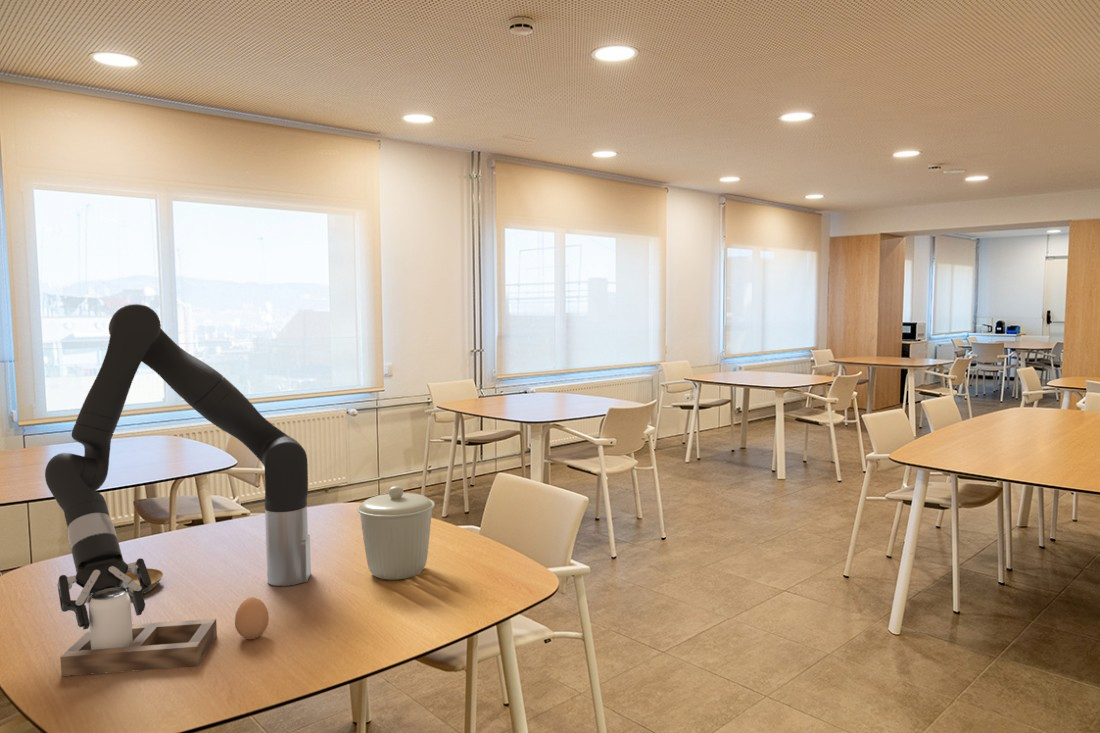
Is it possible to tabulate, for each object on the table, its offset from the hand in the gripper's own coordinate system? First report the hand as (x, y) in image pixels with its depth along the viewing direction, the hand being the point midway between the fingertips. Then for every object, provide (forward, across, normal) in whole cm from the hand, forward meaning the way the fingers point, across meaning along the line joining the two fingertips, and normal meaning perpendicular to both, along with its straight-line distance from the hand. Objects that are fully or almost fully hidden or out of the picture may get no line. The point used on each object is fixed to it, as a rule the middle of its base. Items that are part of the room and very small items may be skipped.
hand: (114, 620), depth 131 cm
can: (+4, 0, +6) cm, 8 cm away
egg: (+11, +21, -1) cm, 24 cm away
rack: (+6, +4, +4) cm, 9 cm away
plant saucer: (-20, +11, +31) cm, 39 cm away
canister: (+4, +60, +7) cm, 61 cm away
